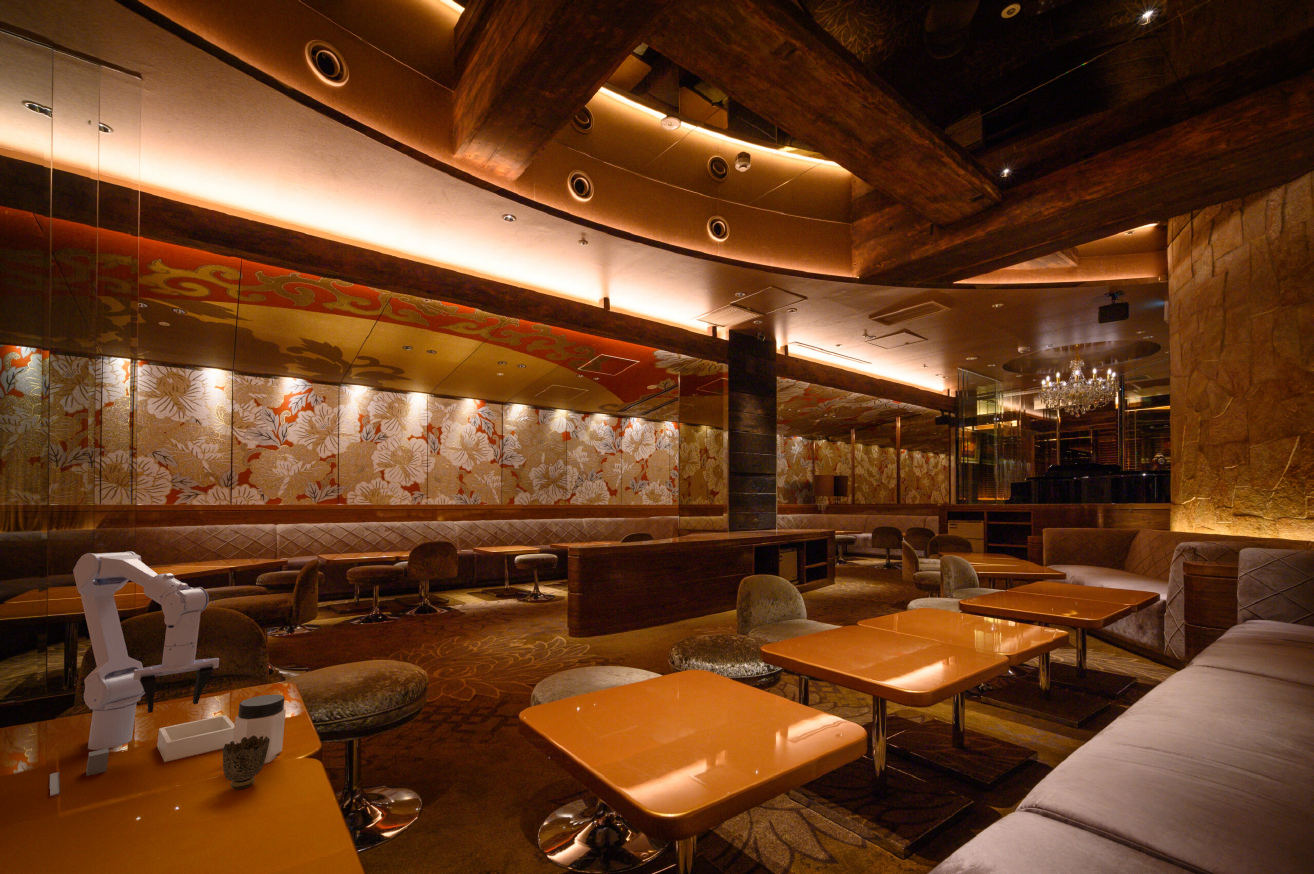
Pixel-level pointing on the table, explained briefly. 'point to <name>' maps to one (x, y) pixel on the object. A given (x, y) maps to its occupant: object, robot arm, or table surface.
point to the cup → (244, 760)
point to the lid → (94, 766)
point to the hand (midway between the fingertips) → (173, 707)
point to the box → (195, 737)
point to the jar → (262, 722)
